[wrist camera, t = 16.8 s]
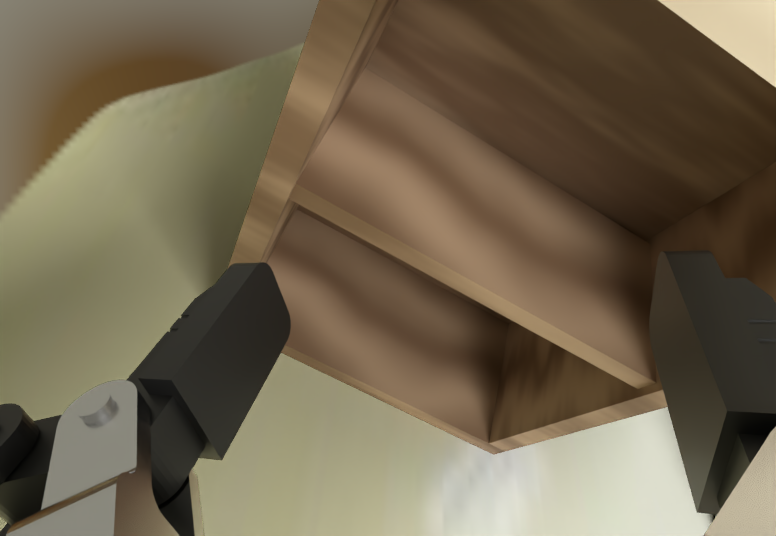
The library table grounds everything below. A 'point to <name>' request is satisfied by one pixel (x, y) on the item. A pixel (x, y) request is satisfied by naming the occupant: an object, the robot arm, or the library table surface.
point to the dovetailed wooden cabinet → (506, 202)
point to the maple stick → (736, 29)
